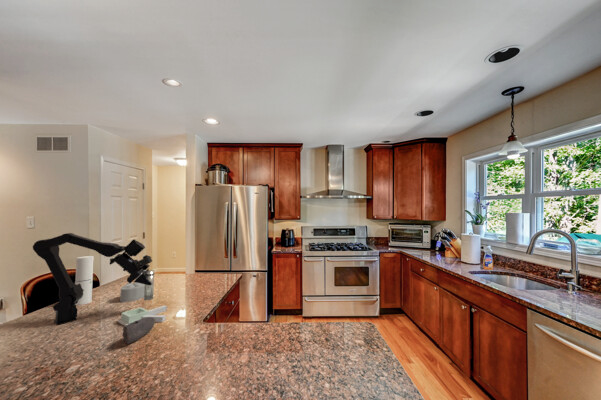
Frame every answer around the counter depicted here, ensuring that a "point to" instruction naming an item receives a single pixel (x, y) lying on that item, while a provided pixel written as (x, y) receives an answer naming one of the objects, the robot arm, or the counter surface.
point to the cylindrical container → (84, 277)
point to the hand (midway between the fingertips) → (152, 283)
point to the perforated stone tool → (137, 329)
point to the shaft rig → (142, 315)
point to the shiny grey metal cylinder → (149, 288)
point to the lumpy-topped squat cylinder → (132, 292)
